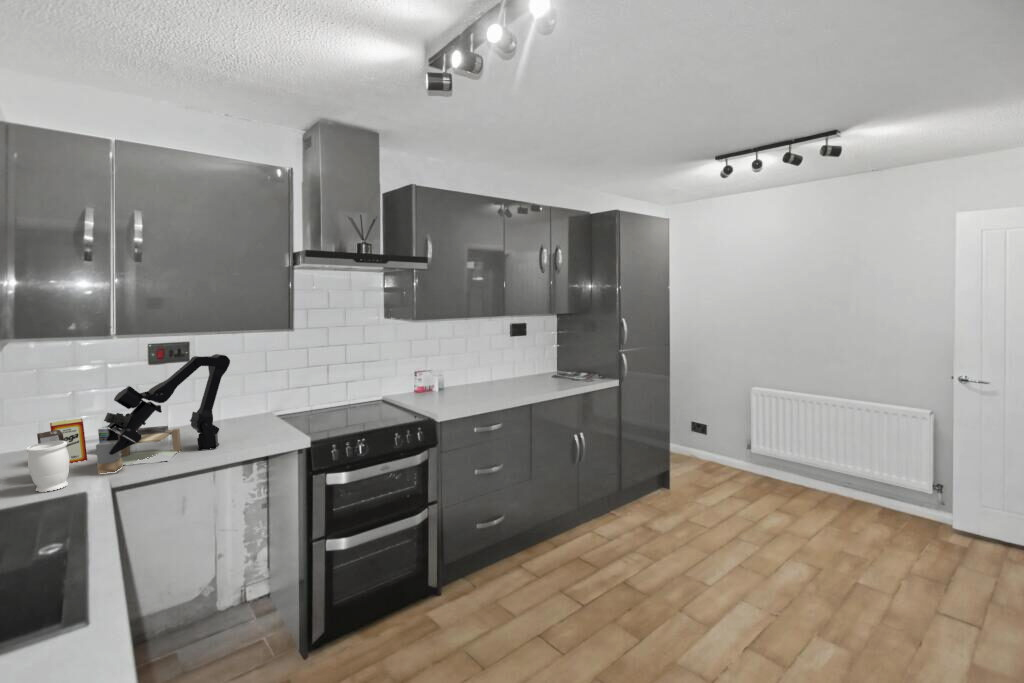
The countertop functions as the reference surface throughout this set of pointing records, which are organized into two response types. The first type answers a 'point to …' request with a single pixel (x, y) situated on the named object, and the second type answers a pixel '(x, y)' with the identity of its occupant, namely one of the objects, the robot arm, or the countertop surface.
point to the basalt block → (106, 452)
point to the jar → (49, 465)
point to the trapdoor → (153, 434)
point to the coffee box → (50, 436)
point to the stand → (133, 457)
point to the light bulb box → (104, 434)
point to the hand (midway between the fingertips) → (106, 451)
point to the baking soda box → (72, 438)
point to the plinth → (109, 466)
